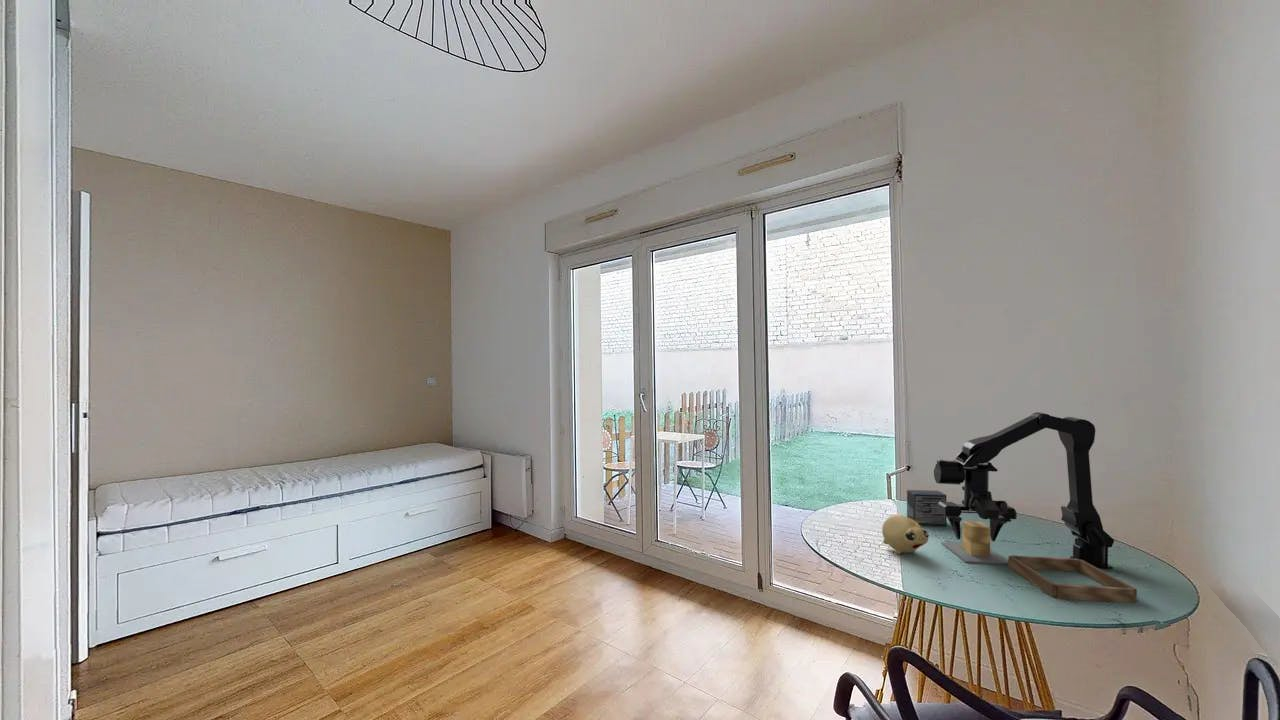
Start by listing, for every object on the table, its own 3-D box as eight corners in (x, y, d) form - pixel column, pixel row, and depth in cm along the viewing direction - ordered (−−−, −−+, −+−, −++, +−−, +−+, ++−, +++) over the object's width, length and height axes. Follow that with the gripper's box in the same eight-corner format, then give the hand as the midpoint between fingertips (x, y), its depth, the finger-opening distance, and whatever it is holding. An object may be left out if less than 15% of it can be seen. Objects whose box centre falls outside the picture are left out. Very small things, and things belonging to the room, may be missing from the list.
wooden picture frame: (1080, 570, 135) (1080, 558, 135) (1138, 603, 117) (1138, 590, 117) (1007, 566, 137) (1007, 555, 137) (1053, 598, 119) (1053, 585, 119)
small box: (937, 520, 175) (938, 489, 175) (947, 526, 169) (947, 495, 168) (905, 519, 176) (906, 488, 176) (914, 525, 170) (914, 493, 169)
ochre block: (980, 549, 147) (980, 521, 147) (990, 556, 142) (990, 527, 142) (961, 548, 148) (962, 521, 148) (970, 555, 143) (971, 526, 143)
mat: (984, 545, 152) (984, 544, 151) (1012, 565, 138) (1012, 563, 138) (941, 543, 153) (941, 542, 153) (965, 562, 139) (965, 560, 139)
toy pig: (907, 563, 138) (907, 524, 138) (874, 547, 150) (875, 511, 150) (935, 559, 141) (936, 521, 141) (901, 543, 153) (902, 508, 153)
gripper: (955, 491, 138) (954, 549, 138) (1029, 494, 136) (1029, 552, 136) (936, 481, 149) (935, 534, 149) (1005, 484, 147) (1004, 537, 147)
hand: (975, 540), depth 145 cm, fingers open, 9 cm apart
